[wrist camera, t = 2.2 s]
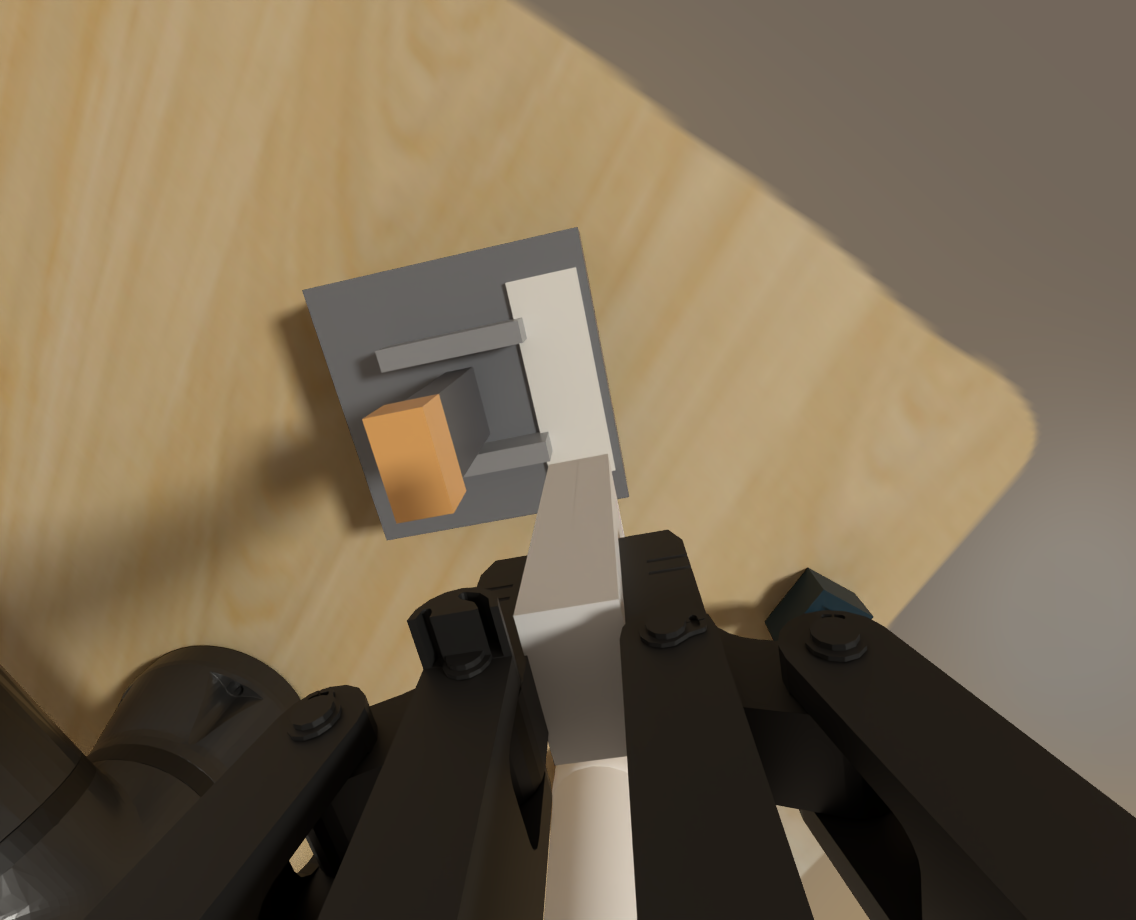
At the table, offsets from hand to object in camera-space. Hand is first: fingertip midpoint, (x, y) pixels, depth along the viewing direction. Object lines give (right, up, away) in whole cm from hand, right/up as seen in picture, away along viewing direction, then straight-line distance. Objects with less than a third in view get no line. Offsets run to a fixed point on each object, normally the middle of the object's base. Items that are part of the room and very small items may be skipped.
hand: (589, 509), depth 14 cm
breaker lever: (-6, +5, +19) cm, 21 cm away
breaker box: (-6, +7, +25) cm, 27 cm away
